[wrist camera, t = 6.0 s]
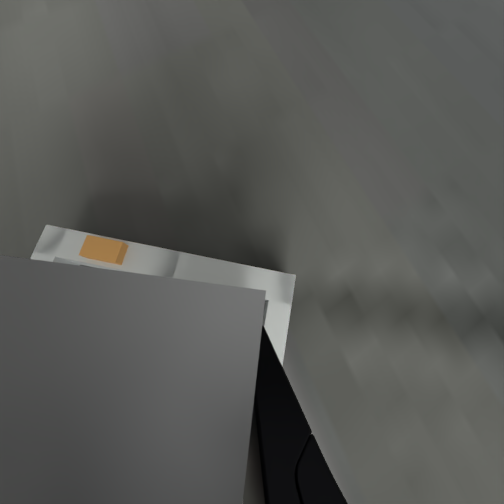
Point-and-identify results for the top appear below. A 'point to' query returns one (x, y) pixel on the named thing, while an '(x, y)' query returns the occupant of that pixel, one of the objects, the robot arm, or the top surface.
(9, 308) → the grey tall block
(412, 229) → the top surface
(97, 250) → the white rectangular frame
